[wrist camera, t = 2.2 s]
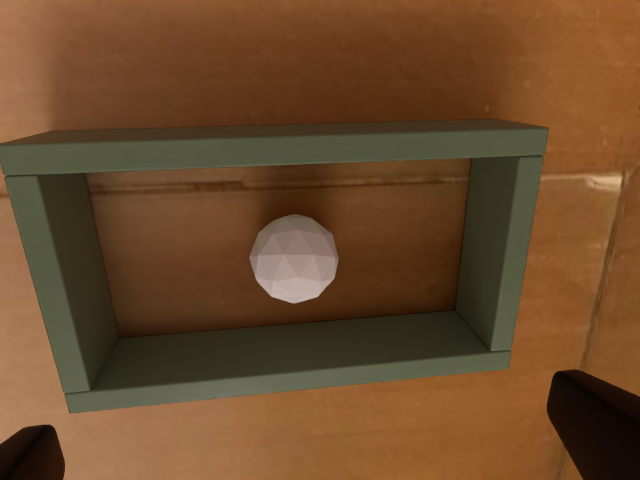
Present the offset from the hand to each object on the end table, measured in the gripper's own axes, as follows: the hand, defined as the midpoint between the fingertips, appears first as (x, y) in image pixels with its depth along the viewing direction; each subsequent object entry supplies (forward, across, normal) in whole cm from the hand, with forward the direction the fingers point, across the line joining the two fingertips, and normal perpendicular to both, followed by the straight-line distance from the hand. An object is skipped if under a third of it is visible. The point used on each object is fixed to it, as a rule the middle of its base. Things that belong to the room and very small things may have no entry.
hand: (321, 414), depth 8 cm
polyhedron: (+9, 0, 0) cm, 9 cm away
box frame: (+9, 0, 0) cm, 9 cm away
